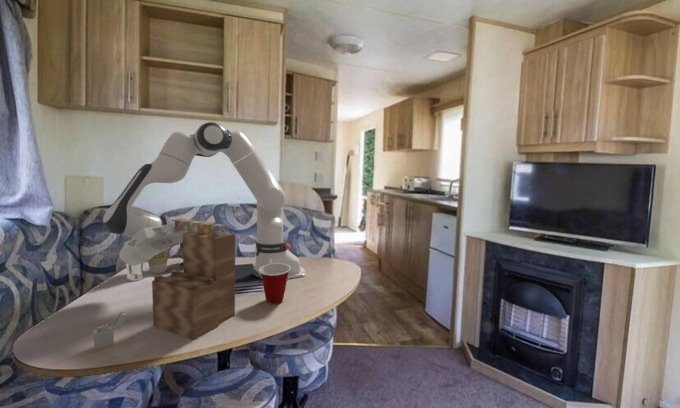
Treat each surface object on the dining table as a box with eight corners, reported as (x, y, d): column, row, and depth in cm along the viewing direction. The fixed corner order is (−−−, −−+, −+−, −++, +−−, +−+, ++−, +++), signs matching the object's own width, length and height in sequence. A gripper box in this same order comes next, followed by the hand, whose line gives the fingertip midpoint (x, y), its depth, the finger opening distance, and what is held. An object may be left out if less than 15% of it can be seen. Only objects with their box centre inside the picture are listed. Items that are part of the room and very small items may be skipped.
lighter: (94, 349, 88) (93, 318, 87) (94, 346, 90) (92, 316, 89) (127, 341, 92) (126, 312, 92) (126, 339, 94) (125, 310, 93)
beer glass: (148, 276, 143) (148, 240, 141) (137, 282, 136) (136, 244, 135) (132, 275, 144) (131, 239, 142) (120, 280, 137) (119, 243, 135)
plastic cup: (251, 302, 121) (251, 268, 120) (271, 293, 131) (272, 261, 129) (276, 309, 116) (277, 274, 115) (295, 299, 126) (296, 266, 124)
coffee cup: (139, 272, 147) (138, 237, 146) (157, 266, 157) (156, 233, 155) (158, 275, 145) (158, 239, 143) (175, 268, 154) (175, 235, 153)
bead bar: (171, 228, 111) (171, 219, 111) (179, 227, 114) (179, 218, 114) (219, 236, 103) (219, 226, 103) (226, 234, 106) (226, 224, 105)
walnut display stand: (153, 326, 101) (151, 237, 99) (199, 305, 117) (198, 228, 114) (193, 339, 95) (193, 244, 92) (237, 316, 110) (237, 234, 107)
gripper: (121, 236, 108) (147, 218, 102) (177, 226, 127) (202, 210, 121) (128, 255, 107) (155, 237, 102) (184, 242, 126) (209, 227, 120)
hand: (181, 223), depth 111 cm, fingers closed on bead bar, 3 cm apart
